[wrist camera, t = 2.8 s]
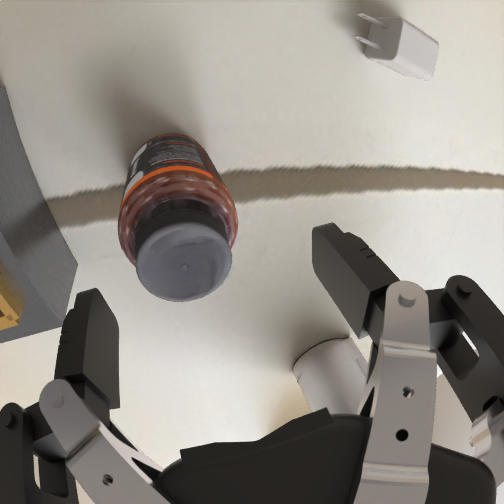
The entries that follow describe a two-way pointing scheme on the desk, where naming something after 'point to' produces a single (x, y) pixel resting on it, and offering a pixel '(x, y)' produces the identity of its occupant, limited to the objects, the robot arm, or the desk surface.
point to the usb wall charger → (400, 46)
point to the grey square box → (28, 244)
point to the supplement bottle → (177, 219)
